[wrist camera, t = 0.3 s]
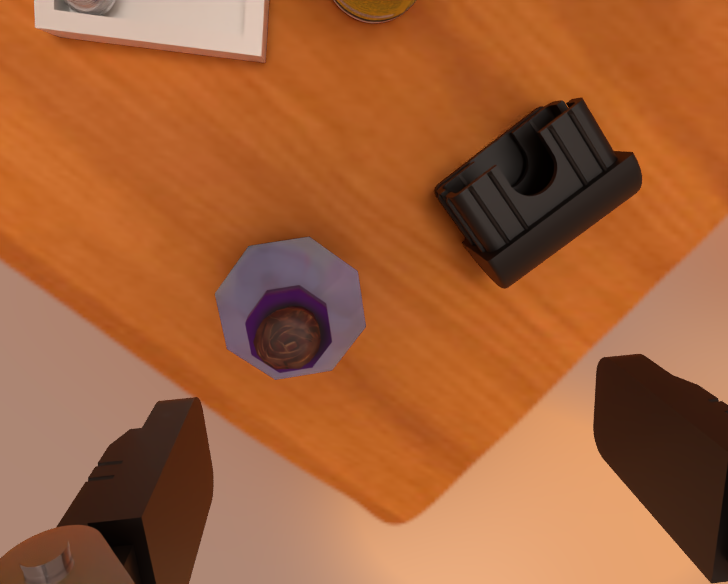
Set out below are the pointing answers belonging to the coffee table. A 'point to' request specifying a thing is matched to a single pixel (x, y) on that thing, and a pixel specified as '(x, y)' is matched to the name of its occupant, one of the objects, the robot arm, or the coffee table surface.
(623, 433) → the robot arm
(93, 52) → the coffee table surface
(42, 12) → the tray
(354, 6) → the pill bottle
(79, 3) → the steel ball
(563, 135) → the end cap
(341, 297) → the potion bottle
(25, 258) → the coffee table surface
